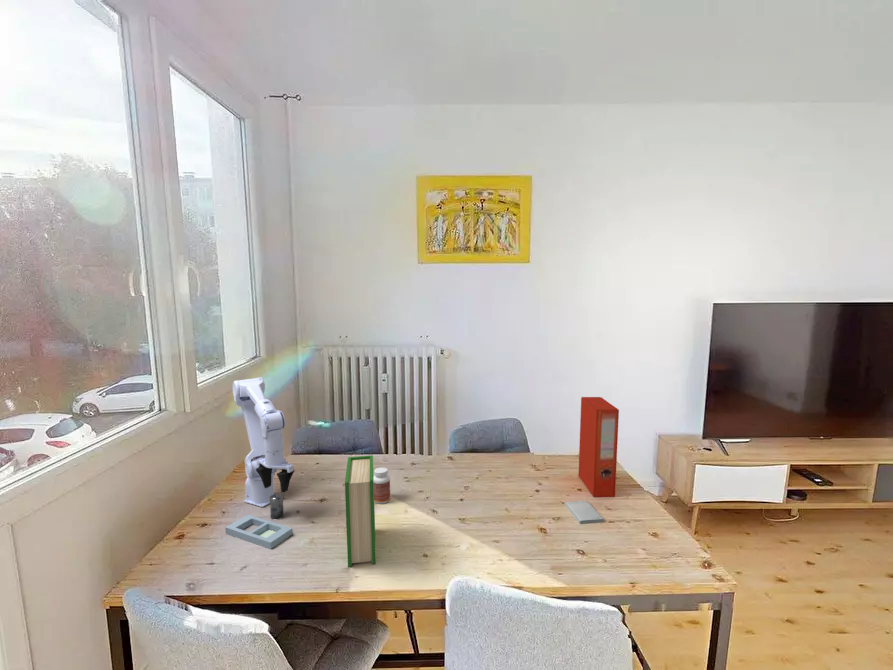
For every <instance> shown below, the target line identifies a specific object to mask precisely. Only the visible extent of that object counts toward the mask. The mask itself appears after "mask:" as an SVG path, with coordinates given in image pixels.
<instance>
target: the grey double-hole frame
mask: <svg viewBox="0 0 893 670" xmlns="http://www.w3.org/2000/svg"><path fill="white" fill-rule="evenodd" d="M252 525H254V526H256V528H254V529H252V530H251V531H247V530H245V529H246V527H247V528H248V527H250V526H252ZM272 530H273V531H272ZM275 531H276V532H275ZM293 533H294V532H293V527H290V526H287V525H283V524H280V523H276V522H273V521H271V520H268V519H263V518H260V517H257V516H255V515H251V514H247V515H245V516H243V517H241V518H240V519H237V520H236V521H234V522H232V523H230V524H229V525H226V526H225V534H226V535H229V536H231V537H235V538H237V537H238V539H240V540H244V541H246V542H249V543H252V544H255V545H258V546H261V547H264V548H267V549H269V550H272V549H274V548H275V547H277V546H278V545H280V542H281V543H282V542H284V541H285V540H286V538H287V539H288V538H289V536H290V535H291V536H293V535H292V534H293ZM291 536H290V537H291ZM283 540H284V541H283Z"/></svg>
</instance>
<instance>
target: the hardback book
mask: <svg viewBox="0 0 893 670" xmlns="http://www.w3.org/2000/svg"><path fill="white" fill-rule="evenodd" d="M346 463H347V464H346V469H345V470H346V471H345V477H344V479H345V480H344V497H345V498H344V499H345V516H346V517H345V520H346V522H345V525H346V526H345V528H346V548H347V552H346V553H347V568H352V565H353V564H356V563H366V562H371V565H373V566H374V565H376V564H377V561H376V559H377V557H376V555H377V554H376V521H375V520H376V518H375V516H376V515H375V514H376V513H375V502H374V478H373V477H374V455H371V454H370V455H357V456H347V462H346Z"/></svg>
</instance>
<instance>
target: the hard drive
mask: <svg viewBox="0 0 893 670" xmlns="http://www.w3.org/2000/svg"><path fill="white" fill-rule="evenodd" d="M564 506H565V507H566V508H567V510H568V511H569V512H570V514H571V515H572V516H573V518H574V519H575V520H576V521H577V522H578V524H579V525H582V524H583V525H585V524H586V525H587V524H595V523H596V524H597V523H605V519H604V518H603V517H602V515H601V514H600V513H599V512H598V511H597V510H596V509H595V508H594V507H593V505H591V503H590V502H588V500H578V501H577V500H576V501H566V502H564Z"/></svg>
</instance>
